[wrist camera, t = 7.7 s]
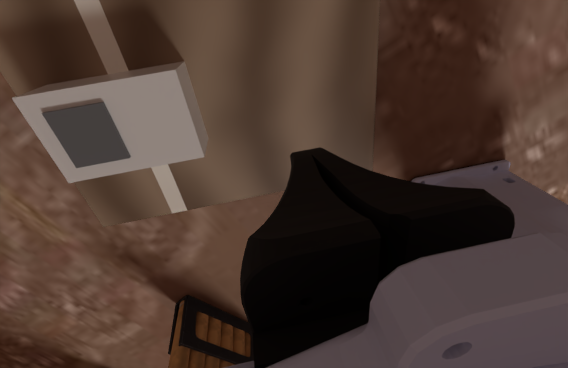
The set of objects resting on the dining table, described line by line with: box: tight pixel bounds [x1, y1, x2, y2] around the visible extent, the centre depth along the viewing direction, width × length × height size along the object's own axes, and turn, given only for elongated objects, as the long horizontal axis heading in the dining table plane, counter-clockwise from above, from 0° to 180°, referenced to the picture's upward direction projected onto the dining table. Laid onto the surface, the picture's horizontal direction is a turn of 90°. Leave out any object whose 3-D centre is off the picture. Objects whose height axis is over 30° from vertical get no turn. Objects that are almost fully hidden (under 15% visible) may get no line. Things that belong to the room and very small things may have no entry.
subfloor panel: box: [0, 0, 380, 227], centre depth 18 cm, size 22×16×1 cm
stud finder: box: [12, 61, 208, 183], centre depth 16 cm, size 8×5×3 cm, turn 98°
